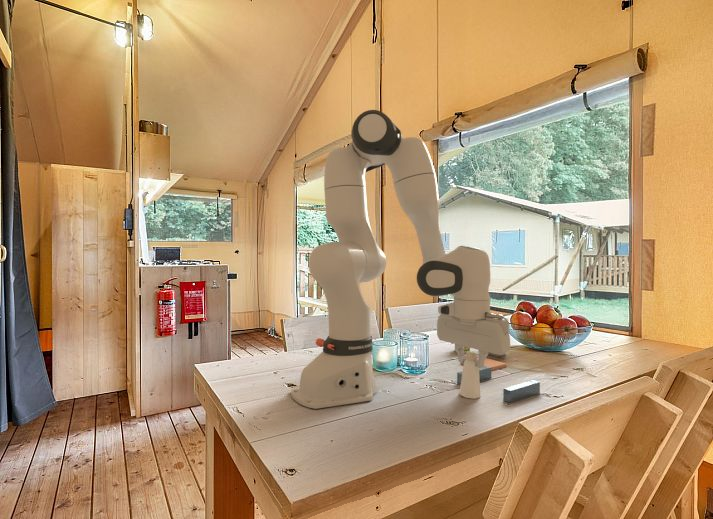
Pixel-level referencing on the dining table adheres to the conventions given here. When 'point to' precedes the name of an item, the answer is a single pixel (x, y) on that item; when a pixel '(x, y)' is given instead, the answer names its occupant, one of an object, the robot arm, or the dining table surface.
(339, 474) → the dining table surface
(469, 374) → the pepper shaker
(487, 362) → the mat
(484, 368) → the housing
